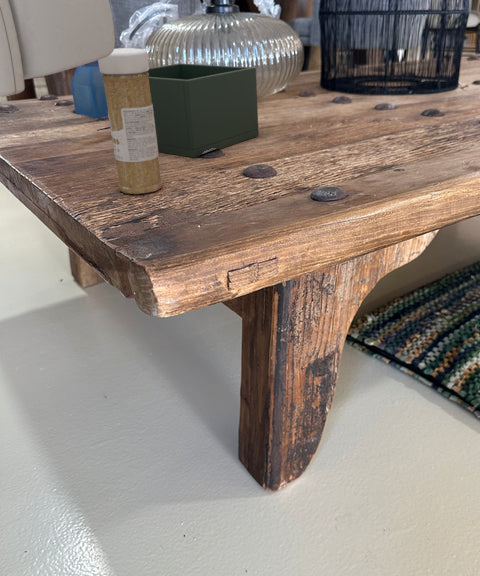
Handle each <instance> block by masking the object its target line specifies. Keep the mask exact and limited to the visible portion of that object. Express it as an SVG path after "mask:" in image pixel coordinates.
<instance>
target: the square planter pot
mask: <svg viewBox="0 0 480 576" xmlns="http://www.w3.org/2000/svg"><path fill="white" fill-rule="evenodd" d="M148 73H149V76H148V79H149V86H150V93H151V102H152V104H153V112H154V120H155V129H156V137H157V146H158V153H163V154H168V155H169V154H170V155H175V156H182V157H186V158H187V157H188V158H193V159H196V158H198V157H201V156H200V155H201V154H202V153H203V152H204V151H206V150H209V149H211V148H216V149H219V150H222V149H225V148H228V147H231V146H233V145H236V144H240V143H242V142H244V141H247V140H250V139H253V138H256V137H259V136H260V135H259V111H258V109H259V108H258V89H257V88H258V87H257V68H256V67H249V66H231V65H217V64H216V65H215V64H198V63H197V64H196V63H181V62H180V63H179V62H178V63H173V64H167V65H160V66H154V67H153V66H152V67H149V70H148Z"/></svg>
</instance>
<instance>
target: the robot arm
mask: <svg viewBox="0 0 480 576" xmlns="http://www.w3.org/2000/svg"><path fill="white" fill-rule="evenodd" d="M115 47H116V33H115V25H114V18H113V13H112V8H111V4H110V0H0V98H3V97H9V96H13V95H18V94H20V93H23V92H24V91H25V88H26V85H25V80H30V79H36V78H41V77H46V76H50V75H54V74H57V73H61V72H65V71H69V70H71V69H74V68H75V69H76V68H77V67H78V66H81V65H86V64H88V63H91V62H94V61H96V60H99V59H102V58H105V57H107V56H109V55H110V54H111V53H112V52H113V50H114V49H115Z"/></svg>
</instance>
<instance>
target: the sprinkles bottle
mask: <svg viewBox="0 0 480 576" xmlns="http://www.w3.org/2000/svg"><path fill="white" fill-rule="evenodd" d="M148 55H149V54H148V52H147V50H146V49H144V48H136V47H122V48H114V50H113V52H112V53H111V54H110V55H109V56H107V57H105V58H102V59H99V60H98V63H99V69H100V72H101V73H103V75H102V77H103V80H104V87H105V93H106V100H107V107H108V116H107V117H108V122H109V127H110V129H109V130H110V135H111V141H112V142H111V143H112V149H113V156H114V159H115V165H116V170H117V176H118V177H117V178H118V189H119V191H120V192H122V193H125V194H128V195H139V194H147V193H153V192H157V191H158V190H160V189H162V187H163V185H164V182H163V180H162V178H161V170H160V161H159V156H160V155H159V152H158V146H157V137H156V129H155V120H154V112H153V104H152V102H151V93H150V86H149V79H148V76H149V73H148V70H149V68H150V62H149V56H148Z"/></svg>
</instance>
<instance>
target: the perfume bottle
mask: <svg viewBox="0 0 480 576" xmlns="http://www.w3.org/2000/svg"><path fill="white" fill-rule="evenodd" d="M102 75H103V73H101V72H100V69H99V63H98V60H96V61H94V62H91V63H88V64H84V65H81V66H78V67H76V68H75V71H74V74H73V76H72V77H71V78H72V79H71V81H70V83H69V85H70V88H71V89H70V90H71V93H72V100H73V104H74V105H73V106H74V110H75V113H76V114H77V115H82V116H86V117H90V118H94V119H98V118H104V117H109V116H108V107H107V100H106V93H105V87H104V80H103V77H102ZM108 129H109V130H110V126H108V127H104V128H103V127H102V128H99V129H96V131H97V132H98V131H99V132H100V131H105V130H108Z"/></svg>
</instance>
